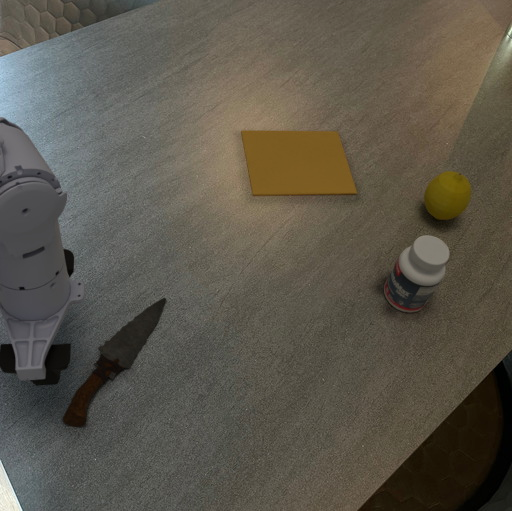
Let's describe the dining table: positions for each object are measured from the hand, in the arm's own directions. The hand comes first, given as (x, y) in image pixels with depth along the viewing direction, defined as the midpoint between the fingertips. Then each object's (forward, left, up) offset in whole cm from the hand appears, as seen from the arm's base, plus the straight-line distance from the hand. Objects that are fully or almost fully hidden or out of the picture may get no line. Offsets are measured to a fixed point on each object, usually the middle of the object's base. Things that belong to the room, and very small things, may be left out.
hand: (49, 345), depth 60 cm
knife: (+6, 0, -3) cm, 7 cm away
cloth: (+30, +28, -3) cm, 41 cm away
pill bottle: (+39, +6, -3) cm, 40 cm away
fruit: (+47, +18, -3) cm, 51 cm away
